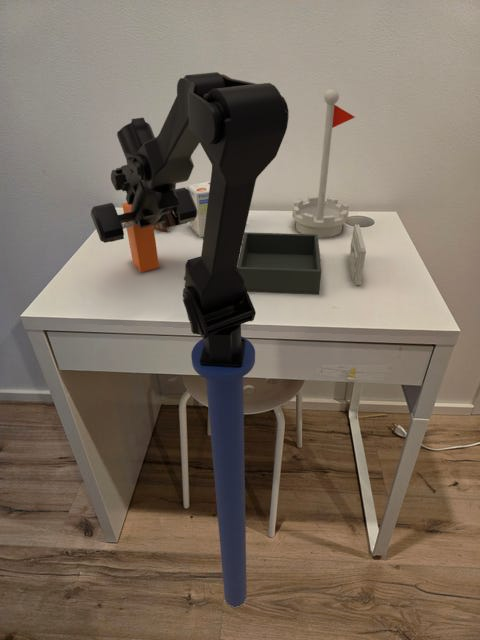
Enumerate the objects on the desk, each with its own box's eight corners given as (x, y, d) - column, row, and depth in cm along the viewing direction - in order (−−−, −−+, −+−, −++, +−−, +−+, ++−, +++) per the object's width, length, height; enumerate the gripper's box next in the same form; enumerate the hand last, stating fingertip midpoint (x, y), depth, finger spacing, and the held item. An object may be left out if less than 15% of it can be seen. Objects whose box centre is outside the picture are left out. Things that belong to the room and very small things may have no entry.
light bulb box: (229, 219, 110) (227, 176, 104) (241, 229, 105) (240, 185, 99) (189, 227, 106) (185, 184, 100) (200, 238, 102) (196, 193, 95)
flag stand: (287, 236, 101) (295, 93, 84) (295, 214, 112) (303, 83, 94) (344, 242, 99) (365, 95, 81) (347, 219, 109) (365, 84, 91)
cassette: (347, 256, 93) (351, 222, 89) (355, 256, 93) (361, 223, 89) (352, 286, 84) (358, 250, 79) (362, 286, 84) (369, 250, 79)
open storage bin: (318, 294, 82) (321, 271, 79) (237, 291, 83) (236, 268, 80) (315, 255, 94) (317, 234, 91) (244, 253, 95) (244, 232, 92)
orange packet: (159, 267, 91) (150, 207, 83) (141, 272, 89) (130, 212, 82) (150, 257, 94) (141, 199, 87) (132, 262, 93) (122, 203, 85)
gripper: (185, 144, 78) (168, 186, 92) (80, 161, 70) (79, 205, 84) (208, 200, 77) (187, 234, 91) (105, 224, 70) (99, 257, 84)
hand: (139, 231), depth 88 cm, fingers open, 9 cm apart
